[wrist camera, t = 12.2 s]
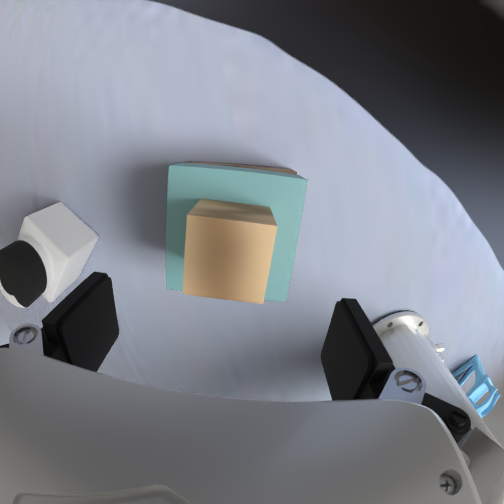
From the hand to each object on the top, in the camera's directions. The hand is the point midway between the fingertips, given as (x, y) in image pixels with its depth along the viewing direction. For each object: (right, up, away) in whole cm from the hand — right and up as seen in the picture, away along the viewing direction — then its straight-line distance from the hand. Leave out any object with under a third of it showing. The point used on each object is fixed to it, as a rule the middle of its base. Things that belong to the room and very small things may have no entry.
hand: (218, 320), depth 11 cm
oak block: (0, +4, +10) cm, 11 cm away
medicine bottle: (-21, +4, +18) cm, 28 cm away
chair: (+44, -21, +29) cm, 57 cm away
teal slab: (0, +5, +14) cm, 15 cm away
